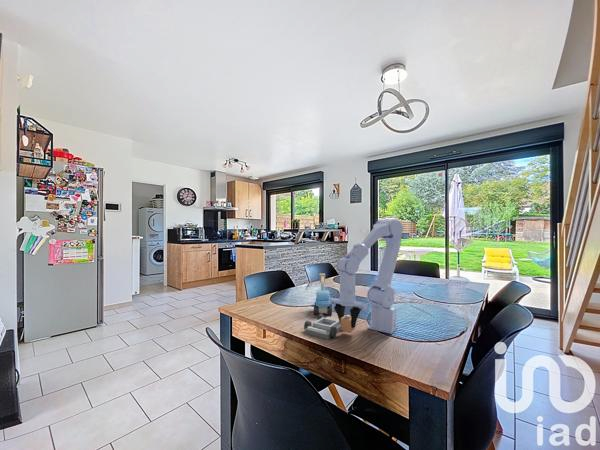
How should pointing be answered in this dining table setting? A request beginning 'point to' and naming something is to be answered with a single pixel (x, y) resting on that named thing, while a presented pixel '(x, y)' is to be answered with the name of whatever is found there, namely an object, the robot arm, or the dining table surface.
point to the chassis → (323, 327)
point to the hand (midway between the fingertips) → (347, 325)
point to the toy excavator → (322, 299)
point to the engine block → (346, 324)
